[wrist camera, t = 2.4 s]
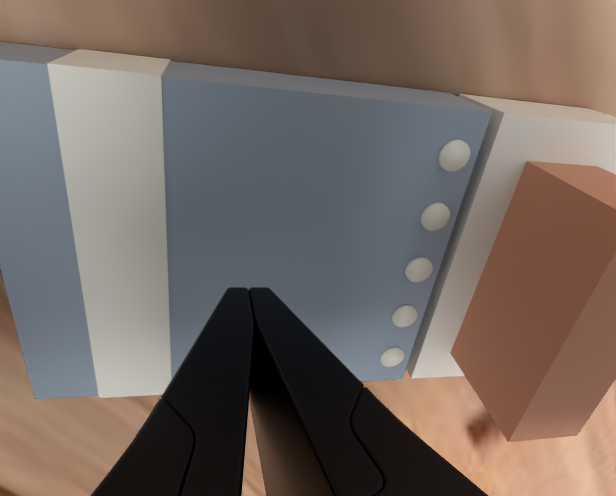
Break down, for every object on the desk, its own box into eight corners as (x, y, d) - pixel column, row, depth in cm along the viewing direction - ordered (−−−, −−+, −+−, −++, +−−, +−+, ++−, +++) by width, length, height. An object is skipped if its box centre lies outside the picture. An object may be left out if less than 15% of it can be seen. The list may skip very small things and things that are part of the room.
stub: (490, 331, 16) (591, 456, 11) (388, 334, 15) (458, 471, 11) (589, 108, 12) (798, 174, 8) (459, 93, 11) (615, 159, 7)
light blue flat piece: (380, 335, 15) (403, 382, 13) (58, 344, 12) (33, 403, 11) (448, 91, 11) (495, 111, 9) (-4, 39, 9) (-60, 53, 7)
